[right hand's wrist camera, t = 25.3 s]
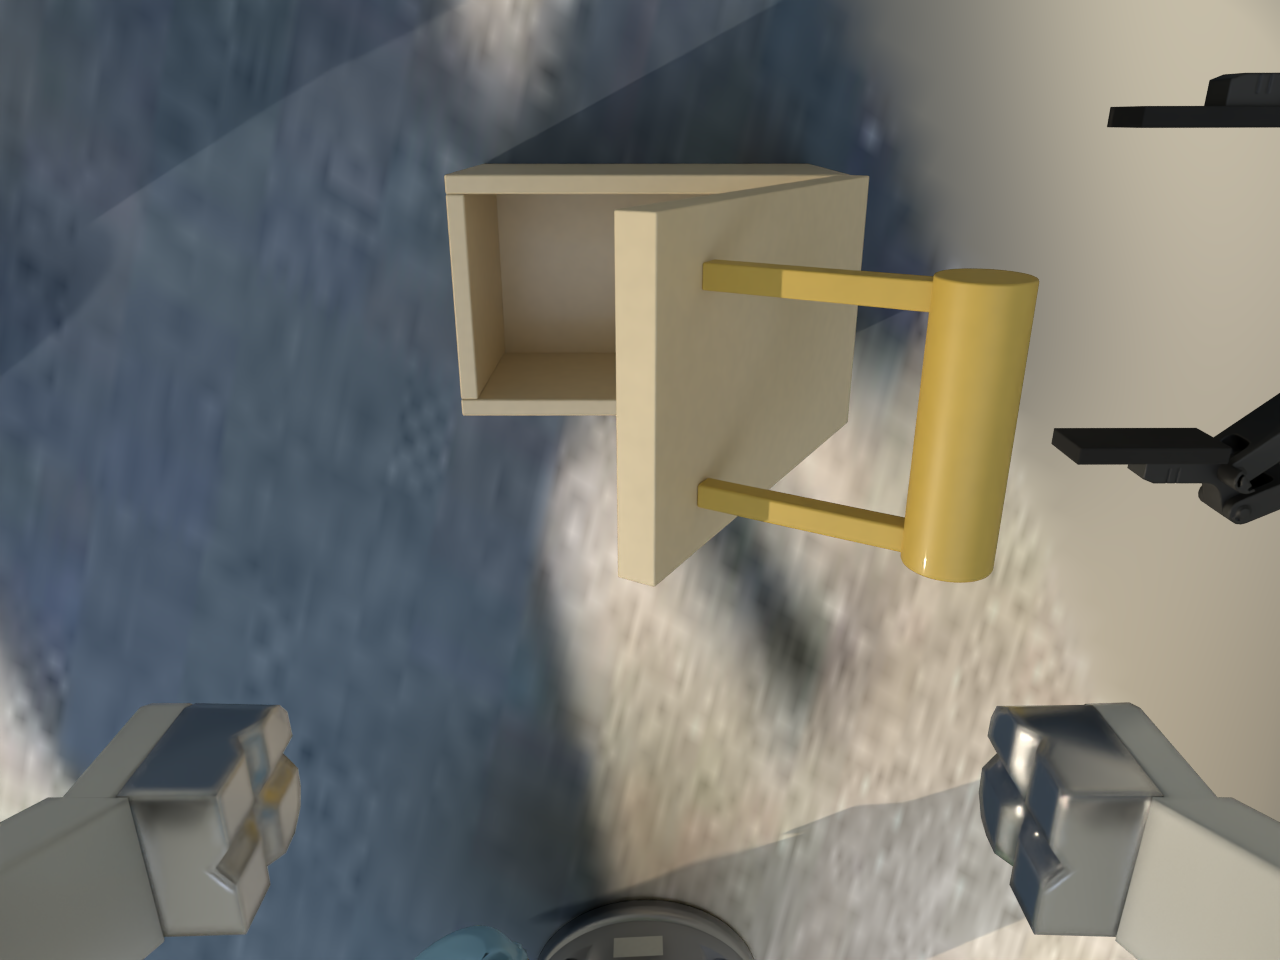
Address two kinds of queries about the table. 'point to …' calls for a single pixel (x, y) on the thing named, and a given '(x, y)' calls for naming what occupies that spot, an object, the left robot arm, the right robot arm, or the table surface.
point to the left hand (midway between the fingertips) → (1092, 292)
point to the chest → (556, 273)
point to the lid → (799, 377)
